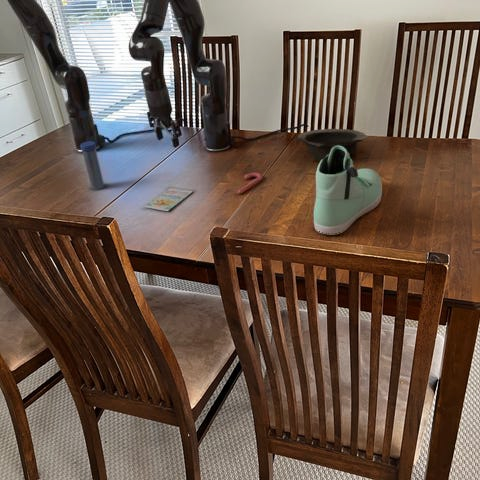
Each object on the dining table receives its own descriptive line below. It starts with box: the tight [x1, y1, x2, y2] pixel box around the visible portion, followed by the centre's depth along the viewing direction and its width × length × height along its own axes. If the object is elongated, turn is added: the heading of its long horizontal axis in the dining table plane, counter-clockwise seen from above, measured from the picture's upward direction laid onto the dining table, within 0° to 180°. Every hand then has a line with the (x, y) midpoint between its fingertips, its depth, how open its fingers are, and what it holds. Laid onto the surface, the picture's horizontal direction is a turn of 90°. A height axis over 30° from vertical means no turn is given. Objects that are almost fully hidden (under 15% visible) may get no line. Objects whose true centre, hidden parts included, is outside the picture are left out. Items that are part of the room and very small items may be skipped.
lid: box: [80, 141, 96, 151], centre depth 157 cm, size 5×5×2 cm
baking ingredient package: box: [143, 187, 194, 212], centre depth 152 cm, size 9×1×15 cm
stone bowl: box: [296, 128, 369, 163], centre depth 173 cm, size 25×25×9 cm
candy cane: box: [236, 172, 263, 195], centre depth 157 cm, size 6×15×2 cm, turn 145°
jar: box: [82, 149, 105, 191], centre depth 160 cm, size 4×4×15 cm
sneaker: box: [313, 146, 383, 236], centre depth 133 cm, size 14×35×20 cm, turn 152°
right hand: (168, 142), depth 166 cm, fingers open, 8 cm apart
